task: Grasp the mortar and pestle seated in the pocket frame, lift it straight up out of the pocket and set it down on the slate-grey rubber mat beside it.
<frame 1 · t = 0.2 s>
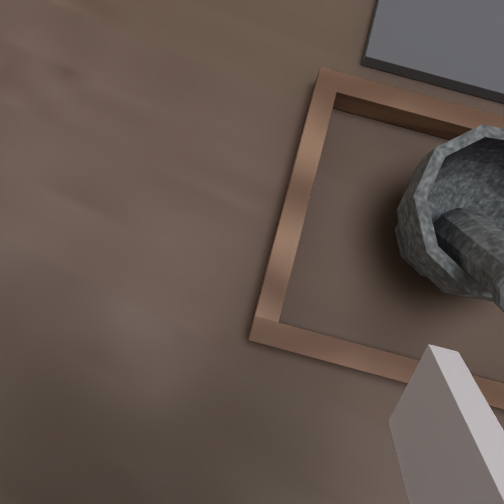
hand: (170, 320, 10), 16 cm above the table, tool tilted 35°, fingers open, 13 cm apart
rubber mat: (479, 12, 31), on the table
pocket frame: (434, 245, 27), on the table
mortar and pestle: (433, 245, 28), resting in pocket frame
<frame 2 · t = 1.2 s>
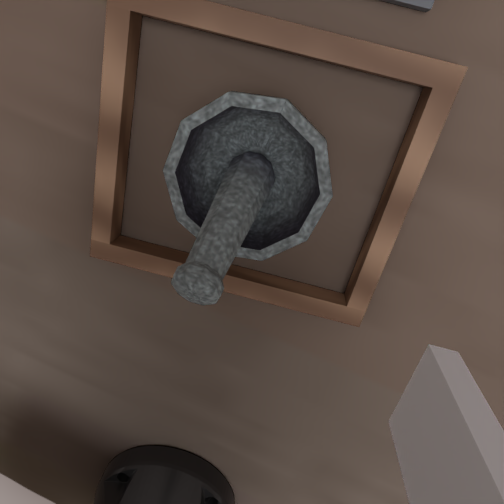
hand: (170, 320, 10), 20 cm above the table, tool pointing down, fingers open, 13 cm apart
pocket frame: (254, 169, 29), on the table
mortar and pestle: (254, 169, 29), resting in pocket frame
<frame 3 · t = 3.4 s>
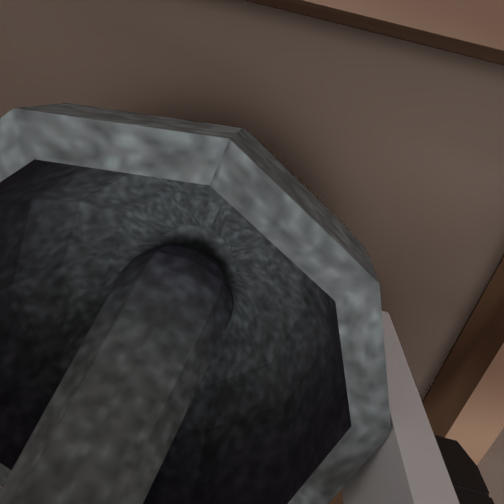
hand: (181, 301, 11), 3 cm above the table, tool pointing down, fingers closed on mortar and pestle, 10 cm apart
pocket frame: (200, 261, 14), on the table
mortar and pestle: (200, 258, 14), resting in pocket frame, touching gripper
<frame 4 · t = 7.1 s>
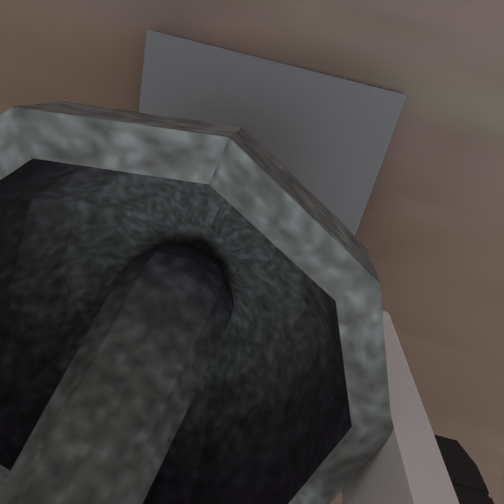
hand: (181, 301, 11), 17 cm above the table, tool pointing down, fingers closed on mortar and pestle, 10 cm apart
rubber mat: (252, 172, 27), on the table
mortar and pestle: (199, 258, 14), point 15 cm above the table, touching gripper
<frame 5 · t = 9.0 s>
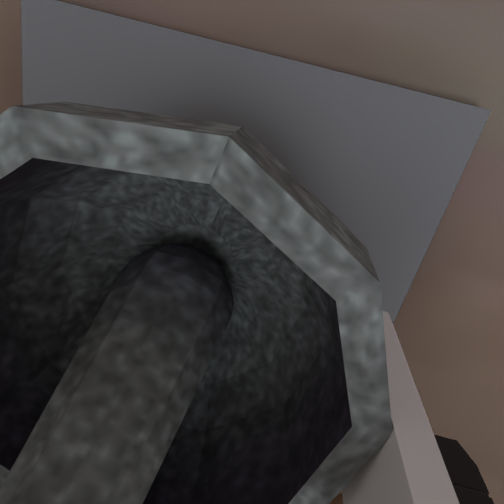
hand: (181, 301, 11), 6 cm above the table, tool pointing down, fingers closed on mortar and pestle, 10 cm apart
rubber mat: (219, 232, 17), on the table
mortar and pestle: (199, 258, 14), point 3 cm above the table, touching gripper
when the fingers open (4 cm above the table, at t = 10.5 s): mortar and pestle stays where it is, resting on rubber mat.
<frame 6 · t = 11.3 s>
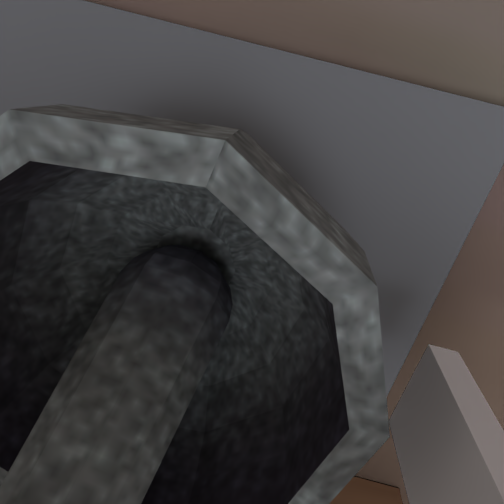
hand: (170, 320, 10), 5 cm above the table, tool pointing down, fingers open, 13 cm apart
rubber mat: (209, 250, 15), on the table
mortar and pestle: (199, 259, 14), point 1 cm above the table, touching rubber mat
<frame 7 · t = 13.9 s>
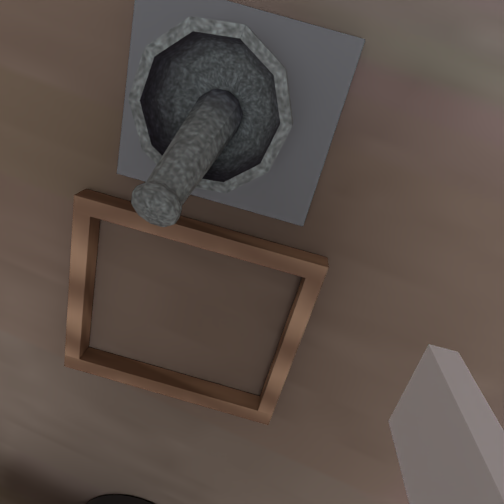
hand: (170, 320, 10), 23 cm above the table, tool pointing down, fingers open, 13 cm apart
rubber mat: (230, 112, 30), on the table
pocket frame: (187, 310, 38), on the table
mortar and pestle: (226, 113, 30), point 1 cm above the table, touching rubber mat
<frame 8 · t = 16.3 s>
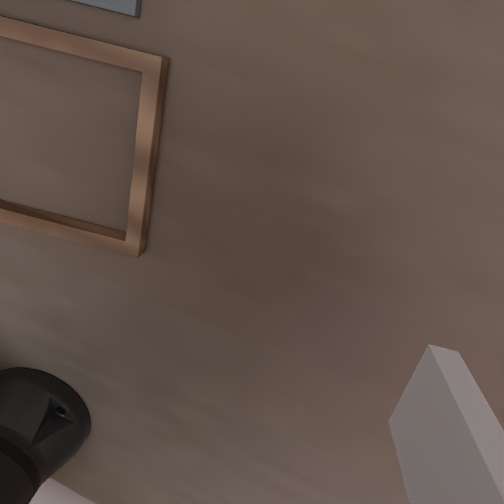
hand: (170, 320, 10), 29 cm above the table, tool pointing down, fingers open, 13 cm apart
pocket frame: (47, 136, 38), on the table
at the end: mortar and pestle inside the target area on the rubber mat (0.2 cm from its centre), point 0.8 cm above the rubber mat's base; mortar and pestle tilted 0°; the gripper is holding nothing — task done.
